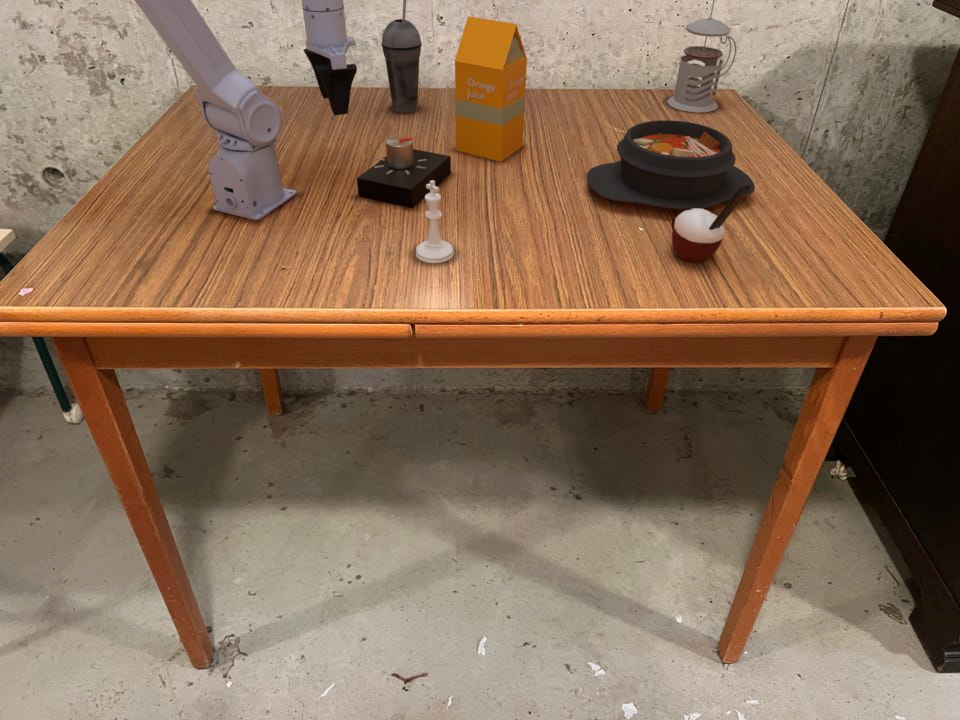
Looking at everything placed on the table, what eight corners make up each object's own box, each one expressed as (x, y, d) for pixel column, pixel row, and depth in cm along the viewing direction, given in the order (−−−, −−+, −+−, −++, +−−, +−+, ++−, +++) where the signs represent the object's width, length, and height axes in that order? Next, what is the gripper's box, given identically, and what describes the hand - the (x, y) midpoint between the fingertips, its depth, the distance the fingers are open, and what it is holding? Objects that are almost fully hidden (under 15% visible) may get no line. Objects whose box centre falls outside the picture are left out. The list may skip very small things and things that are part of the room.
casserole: (722, 163, 112) (735, 112, 107) (773, 217, 98) (790, 160, 93) (573, 169, 110) (578, 117, 105) (602, 225, 96) (610, 167, 90)
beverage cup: (380, 105, 132) (371, -11, 119) (416, 100, 134) (411, -14, 122) (393, 117, 127) (385, -3, 114) (430, 112, 129) (426, -6, 117)
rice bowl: (659, 240, 92) (676, 154, 85) (704, 238, 93) (725, 153, 85) (681, 278, 85) (703, 188, 78) (730, 276, 86) (756, 186, 78)
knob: (391, 171, 101) (390, 146, 99) (384, 160, 104) (382, 136, 102) (417, 167, 103) (416, 142, 100) (409, 156, 105) (408, 132, 103)
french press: (658, 97, 137) (683, -46, 121) (708, 92, 140) (739, -49, 124) (683, 114, 130) (713, -36, 114) (736, 109, 133) (772, -39, 117)
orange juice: (478, 135, 120) (480, 11, 108) (523, 146, 117) (529, 18, 104) (454, 150, 115) (453, 21, 103) (500, 162, 112) (504, 30, 99)
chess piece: (433, 240, 92) (431, 169, 85) (461, 252, 89) (461, 180, 83) (407, 254, 89) (403, 182, 82) (436, 267, 86) (433, 194, 80)
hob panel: (412, 208, 99) (411, 188, 97) (355, 196, 102) (352, 176, 100) (451, 174, 108) (450, 154, 106) (397, 163, 111) (396, 144, 109)
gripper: (364, 17, 92) (372, 118, 100) (340, -6, 102) (349, 87, 111) (311, 21, 90) (324, 124, 98) (292, -3, 100) (306, 92, 109)
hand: (335, 105), depth 104 cm, fingers open, 7 cm apart
